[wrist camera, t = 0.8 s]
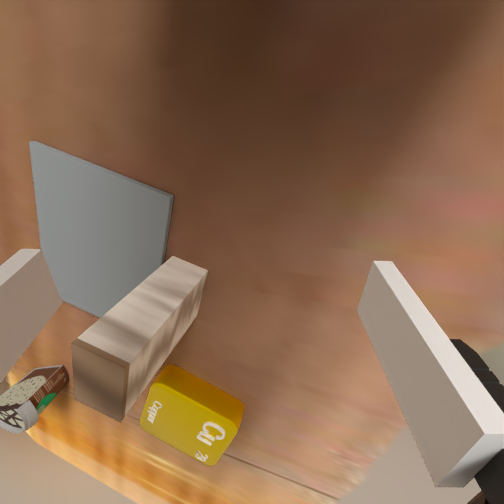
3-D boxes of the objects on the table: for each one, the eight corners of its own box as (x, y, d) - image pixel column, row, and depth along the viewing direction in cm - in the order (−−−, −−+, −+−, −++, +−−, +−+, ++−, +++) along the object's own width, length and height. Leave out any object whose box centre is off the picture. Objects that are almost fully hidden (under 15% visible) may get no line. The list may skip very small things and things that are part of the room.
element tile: (167, 358, 48) (150, 382, 44) (249, 402, 47) (240, 431, 43) (150, 405, 55) (135, 430, 51) (221, 445, 54) (211, 473, 50)
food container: (48, 389, 64) (1, 434, 55) (30, 368, 62) (-21, 411, 53) (85, 387, 59) (40, 436, 50) (67, 364, 57) (17, 410, 48)
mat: (35, 140, 36) (29, 141, 35) (174, 195, 34) (170, 197, 33) (50, 290, 48) (46, 292, 47) (153, 337, 46) (150, 340, 45)
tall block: (172, 255, 38) (71, 343, 24) (208, 270, 37) (124, 368, 23) (165, 301, 42) (74, 399, 28) (197, 315, 41) (120, 422, 27)
